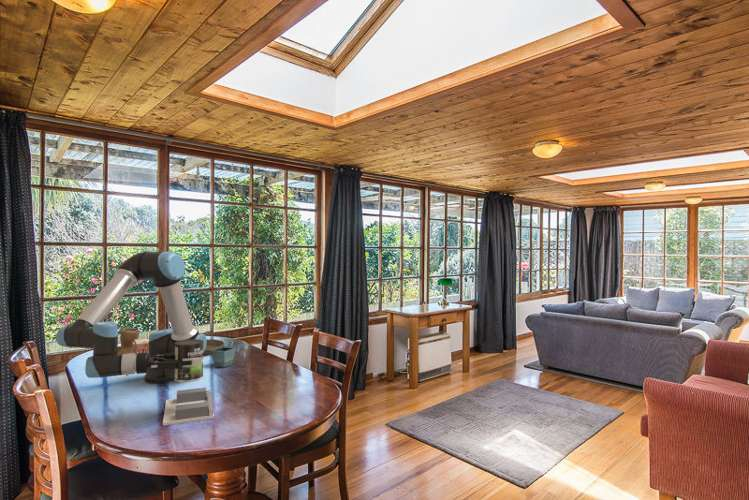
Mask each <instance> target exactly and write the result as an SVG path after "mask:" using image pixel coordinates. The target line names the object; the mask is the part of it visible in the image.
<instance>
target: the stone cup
mask: <svg viewBox="0 0 749 500" xmlns="http://www.w3.org/2000/svg"><path fill="white" fill-rule="evenodd" d="M139 336H140V330H139V328H138V329H137V328H133V327H124V328H122V329H121V331H120V335H119V339H120V346H118V354H120V355H121V354H130V353H133V348H132V342H134V340H136V339H139Z"/></svg>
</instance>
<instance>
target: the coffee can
mask: <svg viewBox="0 0 749 500" xmlns="http://www.w3.org/2000/svg"><path fill="white" fill-rule="evenodd" d="M203 343H204V341H203V340H198V339H190V340H181V341H177V342H175V360H182V361H183V359H189V358H202V362H201V365H196V366H186V367H183V366H182V369H175V379H174V382H177V383H193V382H197V381H200V380H202V379H204V356H203Z"/></svg>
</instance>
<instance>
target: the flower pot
mask: <svg viewBox="0 0 749 500" xmlns="http://www.w3.org/2000/svg"><path fill="white" fill-rule="evenodd" d="M211 351H212V355H211V356H212V361H213V363H214V365H215V366H216V367H217V368H218V367H219V368H225V367H228V366H231V364H232V363H233V361H234V359H235V354H236V353H235V352H236V348H235V347H227V346H224V347H221V348H217V349H214V350H211Z"/></svg>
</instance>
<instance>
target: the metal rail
mask: <svg viewBox="0 0 749 500" xmlns="http://www.w3.org/2000/svg"><path fill="white" fill-rule="evenodd" d="M206 391H207V402H208V411H209V416H213V411H214V405H213V397H212V390H210V389H206Z"/></svg>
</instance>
